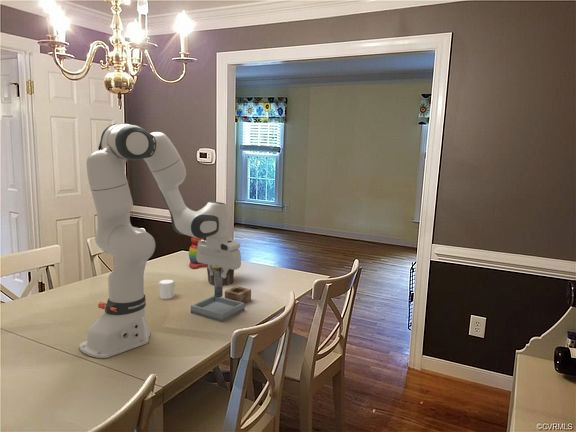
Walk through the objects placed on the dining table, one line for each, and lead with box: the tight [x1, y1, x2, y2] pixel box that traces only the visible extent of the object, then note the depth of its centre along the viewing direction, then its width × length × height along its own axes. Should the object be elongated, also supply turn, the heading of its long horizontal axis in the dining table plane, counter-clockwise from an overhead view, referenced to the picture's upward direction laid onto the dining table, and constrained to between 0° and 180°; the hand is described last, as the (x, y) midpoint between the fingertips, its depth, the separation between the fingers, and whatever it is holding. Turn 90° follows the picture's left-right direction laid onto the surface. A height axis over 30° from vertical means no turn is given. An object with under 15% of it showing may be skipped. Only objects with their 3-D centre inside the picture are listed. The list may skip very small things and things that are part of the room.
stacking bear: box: [188, 237, 207, 270], centre depth 225 cm, size 11×10×18 cm
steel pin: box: [212, 265, 224, 297], centre depth 162 cm, size 5×5×13 cm
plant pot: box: [206, 264, 235, 286], centre depth 199 cm, size 16×16×16 cm
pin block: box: [224, 285, 252, 304], centre depth 175 cm, size 8×8×5 cm
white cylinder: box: [157, 278, 175, 300], centre depth 178 cm, size 7×7×7 cm
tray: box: [190, 294, 246, 323], centre depth 164 cm, size 14×16×3 cm
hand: (218, 276), depth 162 cm, fingers closed on steel pin, 4 cm apart
